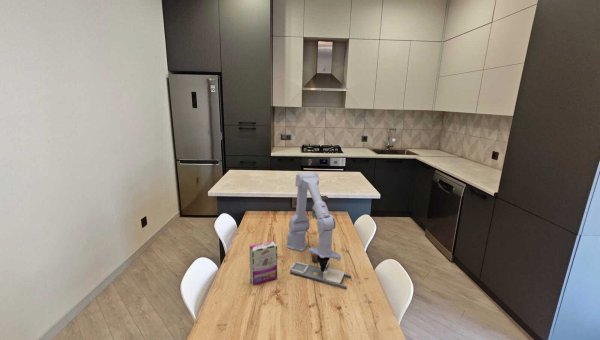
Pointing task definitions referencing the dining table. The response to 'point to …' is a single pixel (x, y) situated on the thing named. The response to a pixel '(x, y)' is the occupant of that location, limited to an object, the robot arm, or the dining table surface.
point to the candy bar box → (263, 262)
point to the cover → (332, 275)
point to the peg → (314, 258)
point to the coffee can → (324, 199)
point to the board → (312, 273)
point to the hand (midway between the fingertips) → (323, 270)
